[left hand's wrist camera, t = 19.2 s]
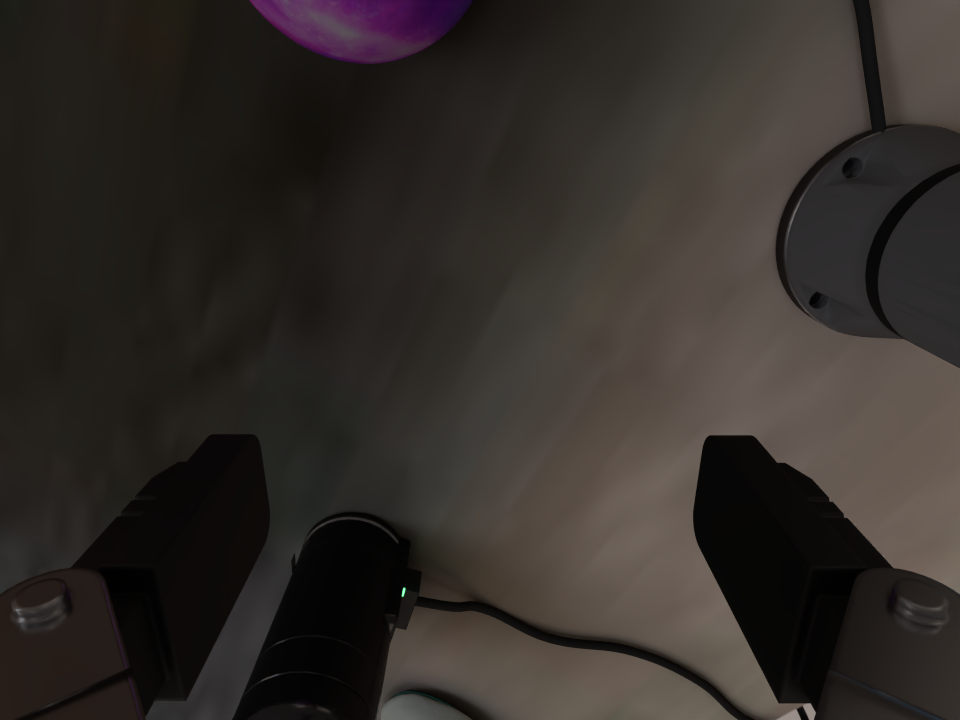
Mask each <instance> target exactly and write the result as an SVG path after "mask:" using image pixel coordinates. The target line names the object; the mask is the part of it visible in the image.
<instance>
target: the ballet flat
mask: <svg viewBox="0 0 960 720" xmlns="http://www.w3.org/2000/svg"><path fill="white" fill-rule="evenodd" d="M380 718H381V720H472V719H471V718H469V717H468V716H466V715H465V714H463V713H461V712H460V711H459V710H457V709H455V708H454V707H452V706H450V705H449V704H447V703H445V702H443V701H441V700H439V699H437V698H435V697H433V696H430V695H427V694H424V693H421V692H415V691H404V692H400V693H397V694H396V695H394V696H393V697H391V699H389V700H388V701H387V702H386V703H385V704H384V706H383V708H382V710H381V717H380Z"/></svg>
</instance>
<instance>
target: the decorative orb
mask: <svg viewBox="0 0 960 720" xmlns="http://www.w3.org/2000/svg"><path fill="white" fill-rule="evenodd" d="M249 1H250V2H251V3H252V4H253V6H254V7H255V8H256V9H257V10H258V11H259V12H260V13H261V14H262V15H263V17H265V18H266V19H267V20H268V21H269V22H270V23H271V24H272V25H273V26H274V27H275V28H277V29H278V30H279V31H280V32H282V33H283V34H284V35H286V36H287V37H289V38H290V39H291V40H293V41H294V42H296V43H298V44H300V45H301V46H303V47H305V48H307V49H309V50H311V51H313V52H315V53H318V54H320V55H323V56H325V57H328V58H332V59H335V60H339V61H344V62H350V63H359V64H376V63H385V62H390V61H395V60H399V59H402V58H405V57H408V56H410V55H413V54H415V53H417V52H420V51H421V50H423V49H425V48H427V47H429V46H430V45H432V44H433V43H434V42H436V41H437V40H439V39H440V38H441V37H442V36H444V35H445V34H446V33H447V32H448V31H449V30H450V29H451V28H452V27H453V26H454V25H455V24H456V23H457V22H458V21H459V20H460V18H461V17H462V16H463V15H464V13H465V12H466V11H467V9H468V8H469V6H470V5H471V3H472V2H473V0H249Z"/></svg>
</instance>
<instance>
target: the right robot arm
mask: <svg viewBox="0 0 960 720" xmlns="http://www.w3.org/2000/svg"><path fill="white" fill-rule="evenodd" d="M853 2H854V7H855V13H856V18H857V25H858V32H859V39H860V47H861V55H862V63H863V70H864V77H865V83H866V90H867V97H868V104H869V111H870V118H871V125H872V130H870V131H866V132H864V133H861V134H859V135H856V136H854V137H852V138H850V139H848V140H847V141H845V142H843V143H842V144H840V145H838V146H837V147H835V148H834V149H832V150H831V151H830V152H828V153H827V154H826V155H825V156H823V157H822V158H821V159H820V160H819V161H818V162H817V163H816V164H815V165H814V166H813V167H812V168H811V169H810V170H809V171H808V172H807V174H806V175H805V176H804V177H803V178H802V180H801V181H800V183H799V184H798V185H797V187H796V188H795V190H794V192H793V193H792V195H791V197H790V199H789V201H788V203H787V205H786V207H785V209H784V212H783V215H782V218H781V221H780V225H779V228H778V234H777V241H776V260H777V268H778V272H779V276H780V279H781V281H782V284H783V286H784V288H785V290H786V292H787V294H788V295H789V297H790V298H791V300H792V301H793V302H794V303H795V304H796V306H797V307H798V308H799V309H801V310H802V311H803V312H804V313H805V314H807V315H808V316H809V317H811V318H813V319H814V320H816V321H817V322H819V323H821V324H823V325H824V326H826V327H828V328H830V329H832V330H835V331H837V332H841V333H844V334H849V335H854V336H860V337H874V338H895V339H905V340H907V341H909V342H911V343H913V344H915V345H917V346H918V347H920V348H922V349H924V350H926V351H928V352H930V353H932V354H934V355H936V356H937V357H939V358H941V359H943V360H945V361H947V362H949V363H951V364H953V365H955V366H957V367H958V368H960V134H959V133H957V132H954V131H951V130H949V129H946V128H941V127H937V126H929V125H892V126H886V121H885V114H884V107H883V99H882V92H881V85H880V77H879V70H878V63H877V55H876V47H875V39H874V31H873V23H872V16H871V10H870V4H869V0H853Z"/></svg>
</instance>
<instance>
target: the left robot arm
mask: <svg viewBox="0 0 960 720" xmlns="http://www.w3.org/2000/svg"><path fill="white" fill-rule="evenodd" d="M693 524H694V532H695V536H696V540H697V543H698V546H699V548H700V550H701V552H702V554H703V556H704V557H705V559H706V561H707V563H708V565H709V567H710V569H711V571H712V573H713V575H714V577H715V579H716V581H717V583H718V585H719V587H720V589H721V591H722V593H723V595H724V597H725V599H726V601H727V603H728V605H729V607H730V609H731V611H732V612H733V614H734V616H735V618H736V620H737V622H738V624H739V626H740V628H741V630H742V632H743V634H744V636H745V638H746V640H747V642H748V644H749V646H750V648H751V650H752V652H753V654H754V656H755V658H756V660H757V662H758V664H759V665H760V667H761V669H762V671H763V673H764V675H765V677H766V679H767V681H768V683H769V685H770V687H771V689H772V691H773V693H774V695H775V697H776V699H777V701H778V703H811V705H812V706H813V708H814V710H815V712H816V715H815V718H814V720H960V594H958V593H957V592H955V591H954V590H952V589H951V588H949V587H947V586H945V585H944V584H942V583H940V582H938V581H936V580H933V579H931V578H929V577H926V576H923V575H921V574H917V573H914V572H911V571H906V570H902V569H895V568H893V567H892V566H891V565H890V564H889V563H888V562H887V561H886V560H885V558H884V557H883V556H882V555H881V554H880V553H879V552H878V551H877V550H876V549H875V548H874V546H873V545H872V544H871V543H870V542H869V541H868V540H867V539H866V538H865V537H864V536H863V534H862V533H861V532H860V531H859V530H858V529H857V528H856V527H855V526H854V525H853V524H852V522H851V521H850V520H849V519H848V518H844V514H843V513H842V512H841V510H840V509H839V508H838V507H837V506H836V505H835V504H834V503H833V502H830V501H829V497H828V496H827V495H826V494H825V493H824V492H823V491H822V490H821V489H820V487H819V486H818V485H817V484H816V483H815V482H814V481H813V480H812V479H811V478H809V477H808V476H806V475H804V474H803V473H801V472H799V471H798V470H796V469H794V468H793V467H791V466H789V465H788V464H786V463H777V462H776V461H775V460H774V458H773V457H772V456H771V455H770V454H769V453H768V451H767V450H766V449H765V448H764V447H763V446H762V445H761V443H760V442H759V441H758V440H757V439H756V438H755V437H754V436H751V435H710V436H708V437H707V438H706V440H705V442H704V445H703V449H702V455H701V462H700V469H699V476H698V482H697V489H696V496H695V503H694V510H693ZM269 525H270V507H269V500H268V493H267V486H266V479H265V473H264V466H263V459H262V452H261V446H260V442H259V440H258V438H257V436H255V435H253V434H213V435H210V436H209V437H207V439H206V440H205V441H204V442H203V443H202V444H201V446H200V447H199V448H198V449H197V450H196V451H195V453H194V454H193V455H192V456H191V457H190V459H189V460H188V461H187V462H178V463H176V464H174V465H173V466H171V467H169V468H168V469H166V470H164V471H163V472H161V473H159V474H158V475H156V476H155V477H153V478H152V479H151V480H150V481H149V482H148V483H147V484H146V485H145V486H144V488H143V489H142V490H141V491H140V492H139V493H138V494H137V495H136V496H135V500H132V501H131V502H130V503H129V504H128V505H127V506H126V507H125V508H124V510H123V511H122V512H121V516H120V517H116V518H115V520H114V521H113V522H112V523H111V524H110V525H109V526H108V527H107V528H106V529H105V531H104V532H103V533H102V534H101V535H100V536H99V537H98V538H97V539H96V540H95V542H94V543H93V544H92V545H91V546H90V547H89V548H88V549H87V550H86V551H85V553H84V554H83V555H82V556H81V557H80V558H79V559H78V560H77V561H76V562H75V564H74V565H73V566H72V567H71V568H65V569H58V570H54V571H49V572H46V573H43V574H39V575H37V576H34V577H31V578H29V579H27V580H24V581H22V582H20V583H18V584H16V585H15V586H13V587H11V588H9V589H8V590H6V591H5V592H3V593H2V594H0V720H146V718H145V717H146V715H147V713H148V712H149V710H150V708H151V706H152V704H153V703H154V701H186V700H187V698H188V696H189V694H190V692H191V690H192V688H193V686H194V684H195V682H196V680H197V678H198V676H199V674H200V672H201V670H202V668H203V666H204V664H205V662H206V660H207V658H208V656H209V654H210V652H211V650H212V648H213V646H214V644H215V642H216V640H217V638H218V636H219V634H220V632H221V630H222V629H223V627H224V625H225V623H226V621H227V619H228V617H229V615H230V613H231V611H232V609H233V607H234V605H235V603H236V601H237V599H238V597H239V595H240V593H241V591H242V589H243V587H244V585H245V583H246V581H247V579H248V577H249V575H250V573H251V571H252V569H253V567H254V565H255V563H256V561H257V559H258V557H259V555H260V553H261V551H262V549H263V547H264V545H265V543H266V540H267V536H268V532H269ZM410 545H411V542H410V541H408V540H405V539H402V538H399V536H398V535H397V534H396V532H395V531H394V530H393V529H392V528H391V527H390V526H388V525H387V524H386V523H384V522H383V521H381V520H379V519H377V518H375V517H372V516H369V515H365V514H360V513H341V514H336V515H333V516H330V517H327V518H325V519H323V520H322V521H320V522H319V523H317V524H316V525H315V526H314V527H313V528H312V529H311V530H310V532H309V533H308V535H307V537H306V539H305V541H304V544H303V547H302V550H301V553H300V555H299V559H298V561H297V564H296V565H295V553H294V556H293V558H292V560H291V562H292V576H291V578H290V581H289V583H288V586H287V588H286V590H285V593H284V595H283V598H282V600H281V603H280V605H279V608H278V610H277V612H276V615H275V617H274V620H273V622H272V625H271V627H270V629H269V632H268V634H267V637H266V639H265V642H264V644H263V647H262V649H261V651H260V654H259V656H258V659H257V661H256V664H255V666H254V668H253V671H252V673H251V676H250V678H249V681H248V683H247V685H246V688H245V690H244V693H243V695H242V698H241V700H240V703H239V705H238V708H237V710H236V712H235V715H234V717H233V719H232V720H377V717H378V711H379V705H380V699H381V693H382V687H383V682H384V676H385V670H386V664H387V658H388V652H389V646H390V643H391V640H392V637H393V634H394V631H395V628H400V629H404V630H406V629H407V626H408V623H409V620H410V617H411V614H412V612H413V609H414V606H420V607H426V608H431V609H437V610H443V611H452V612H463V611H477V612H481V613H484V614H487V615H490V616H492V617H495V618H497V619H499V620H501V621H503V622H505V623H507V624H508V625H510V626H512V627H514V628H516V629H518V630H520V631H521V632H523V633H525V634H528V635H530V636H532V637H534V638H537V639H539V640H542V641H545V642H548V643H552V644H556V645H560V646H566V647H572V648H581V649H593V650H604V651H612V652H618V653H623V654H627V655H631V656H635V657H638V658H641V659H644V660H647V661H650V662H653V663H655V664H658V665H660V666H663V667H665V668H667V669H669V670H672V671H674V672H676V673H678V674H679V675H681V676H683V677H685V678H687V679H688V680H690V681H692V682H694V683H695V684H697V685H698V686H700V687H701V688H703V689H704V690H706V691H707V692H708V693H709V694H710V695H712V696H713V697H714V698H715V699H716V700H717V701H718V702H719V703H720V704H721V705H722V706H723V707H724V708H725V709H726V710H727V711H728V712H729V713H730V714H731V715H732V716H734V717H735V718H736V719H738V720H754V719H752V718H750V717H748V716H746V715H745V714H743V713H742V712H740V711H739V710H738V709H736V708H735V707H734V706H733V705H732V704H731V703H730V702H729V701H728V700H727V699H726V698H725V697H724V696H723V695H722V694H721V693H720V692H719V691H718V690H717V689H716V688H715V687H713V686H712V685H711V684H710V683H708V682H707V681H705V680H704V679H702V678H701V677H699V676H697V675H696V674H694V673H692V672H691V671H689V670H687V669H685V668H684V667H682V666H680V665H678V664H676V663H674V662H672V661H670V660H668V659H665V658H663V657H661V656H658V655H656V654H653V653H650V652H647V651H644V650H641V649H638V648H635V647H631V646H628V645H623V644H619V643H612V642H605V641H594V640H582V639H573V638H566V637H561V636H557V635H553V634H549V633H546V632H543V631H540V630H538V629H536V628H533V627H531V626H529V625H527V624H525V623H523V622H521V621H519V620H517V619H516V618H514V617H512V616H510V615H508V614H506V613H504V612H502V611H500V610H498V609H496V608H494V607H491V606H488V605H486V604H482V603H479V602H473V601H467V602H449V601H442V600H436V599H430V598H425V597H419V596H418V595H419V589H420V582H421V574H422V572H421V571H417V570H413V569H409V568H407V563H408V557H409V551H410ZM796 710H797V712H798V714H799V716H800V719H801V720H809V718H808V716H807V713H806V711H805V709H804V707H803V706H801V707H799V708H797V709H796Z"/></svg>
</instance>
